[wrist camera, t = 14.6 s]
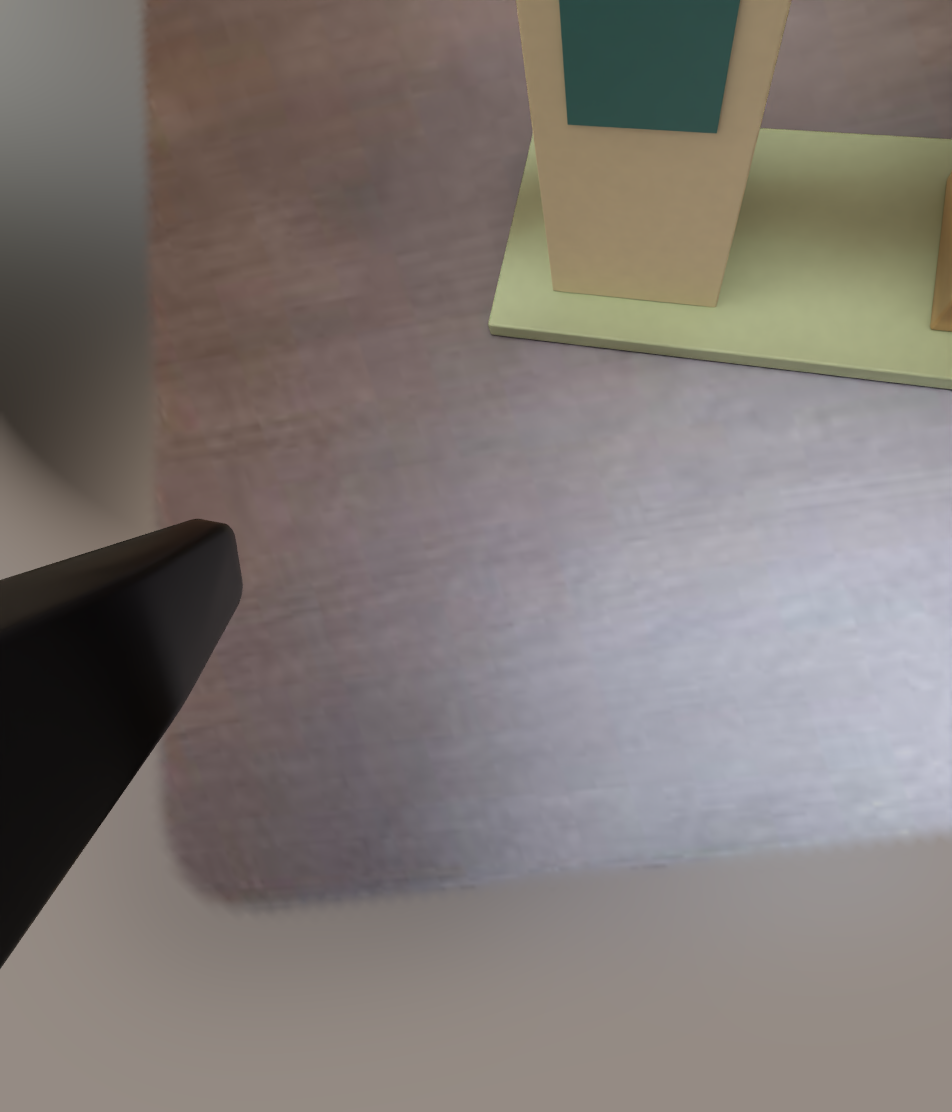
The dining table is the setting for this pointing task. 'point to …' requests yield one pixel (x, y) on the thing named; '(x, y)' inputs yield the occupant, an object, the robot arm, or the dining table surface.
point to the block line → (783, 268)
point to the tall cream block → (646, 136)
